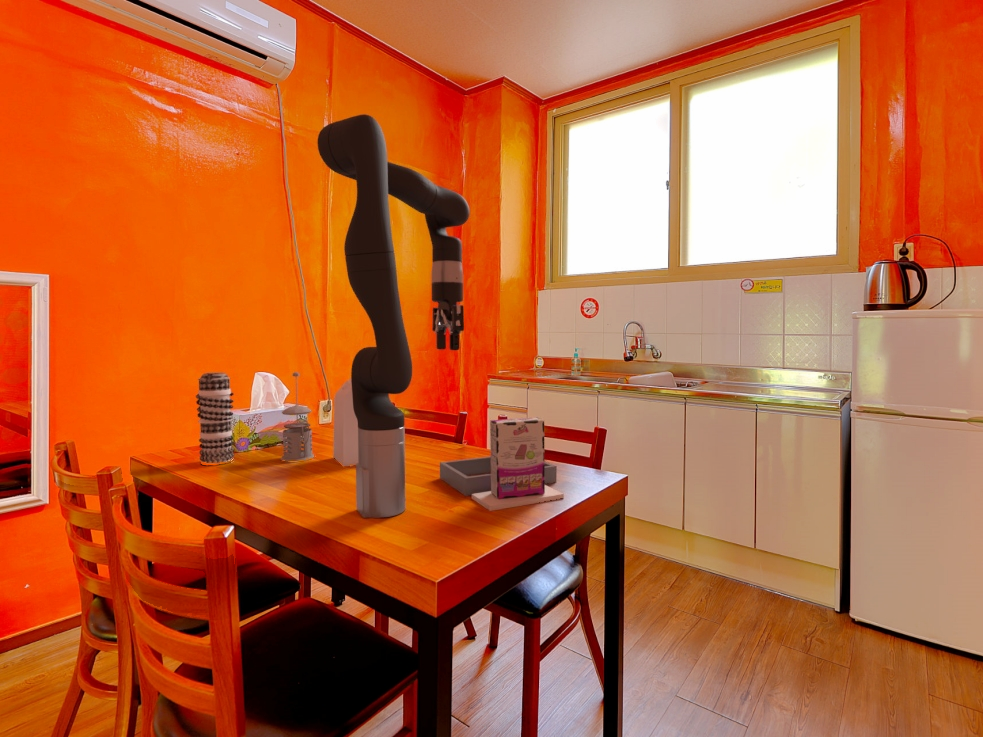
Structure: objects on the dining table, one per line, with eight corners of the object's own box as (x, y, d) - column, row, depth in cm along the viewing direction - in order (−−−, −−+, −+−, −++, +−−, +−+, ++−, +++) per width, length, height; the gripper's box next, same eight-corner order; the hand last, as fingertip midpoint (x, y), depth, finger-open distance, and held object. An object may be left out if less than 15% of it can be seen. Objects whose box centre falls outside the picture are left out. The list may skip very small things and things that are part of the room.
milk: (384, 462, 145) (383, 369, 143) (343, 467, 139) (341, 371, 137) (372, 453, 155) (371, 367, 154) (333, 458, 150) (331, 368, 148)
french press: (308, 452, 156) (306, 370, 154) (323, 460, 147) (321, 372, 146) (275, 457, 150) (272, 371, 148) (288, 465, 141) (286, 374, 139)
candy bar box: (536, 488, 117) (536, 416, 116) (545, 494, 112) (545, 420, 111) (489, 493, 113) (489, 419, 112) (496, 499, 109) (496, 422, 108)
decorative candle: (208, 458, 149) (205, 372, 147) (241, 458, 149) (238, 371, 148) (191, 466, 140) (188, 374, 138) (226, 466, 140) (223, 374, 139)
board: (490, 510, 105) (490, 506, 105) (471, 498, 113) (471, 493, 113) (563, 498, 113) (563, 493, 113) (541, 487, 121) (541, 483, 121)
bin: (465, 496, 114) (465, 478, 114) (439, 478, 129) (439, 462, 128) (556, 482, 125) (556, 466, 125) (523, 467, 139) (523, 452, 139)
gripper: (474, 279, 119) (474, 350, 120) (450, 285, 131) (450, 348, 132) (443, 278, 115) (443, 350, 116) (422, 283, 128) (422, 349, 129)
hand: (447, 349), depth 124 cm, fingers open, 8 cm apart
